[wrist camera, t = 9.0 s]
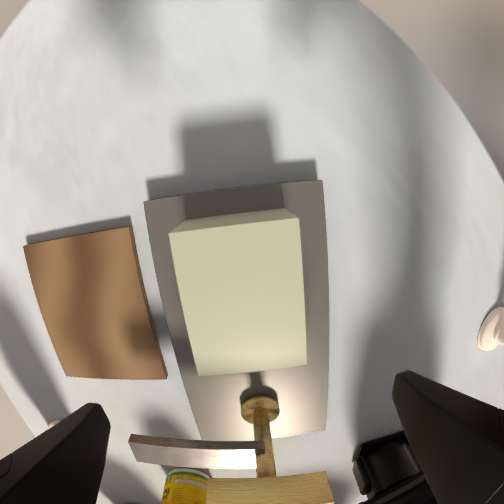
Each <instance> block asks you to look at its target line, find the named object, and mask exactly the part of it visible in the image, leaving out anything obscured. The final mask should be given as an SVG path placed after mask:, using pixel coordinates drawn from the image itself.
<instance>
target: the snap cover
mask: <svg viewBox="0 0 504 504" xmlns="http://www.w3.org/2000/svg"><path fill="white" fill-rule="evenodd" d="M169 239H170V245H171V251H172V257H173V262H174V268H175V273H176V279H177V284H178V289H179V294H180V299H181V304H182V308H183V313H184V318H185V322H186V327H187V331H188V336H189V340H190V344H191V348H192V352H193V357H194V361H195V365H196V369H197V372H198V376H211V375H224V374H236V373H246V372H256V371H264V370H272V369H280V368H287V367H294V366H301V365H307V351H306V323H305V301H304V283H303V266H302V252H301V238H300V225H299V218H298V217H297V216H295V215H294V214H292V213H291V212H289V211H288V210H286V209H285V208H281V209H272V210H263V211H254V212H245V213H237V214H228V215H220V216H212V217H204V218H197V219H189V220H185V221H184V222H182V223H181V224H180V225H179V226H177V227H176V228H175V229H174V230H172V231H171V232H170V233H169Z"/></svg>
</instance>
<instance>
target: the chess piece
mask: <svg viewBox="0 0 504 504" xmlns="http://www.w3.org/2000/svg"><path fill="white" fill-rule="evenodd" d="M499 344H502V345H504V308H503V307H498V308H496V309H494V310H493V311H492V312H490V314H489V315H488V316H487V317H486V319H485V320H484V322H483V324H482V326H481V328H480V331H479V334H478V346H479V347H480V348H481V349H483V350H485V351H490V350H492V349H494V348H495V347H496V346H498V345H499Z"/></svg>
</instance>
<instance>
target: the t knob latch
mask: <svg viewBox="0 0 504 504" xmlns="http://www.w3.org/2000/svg"><path fill="white" fill-rule="evenodd" d="M279 413H280V409H279V403H278V401H277V400H276V399H275V398H274V397H272V396H270V395H266V394H257V395H252V396H250V397H248V398H246V399H245V400H244V401H243V403H242V404H241V416H242V418H243V419H244V420H245V421H246V422H248V423H251V424H253V427H254V441H203V440H184V439H171V438H160V437H151V436H143V435H136V434H131V435H130V438H129V441H128V442H129V445H130V447H131V449H132V451H133V454H134V456H135V458H136V460H137V461H138V462H144V463H151V464H159V465H168V466H178V467H191V468H210V469H254V468H256V472H257V478H208V484H207V498H206V504H334V499H333V495H332V492H331V488H330V485H329V481H328V477H327V474H326V471H323V472H316V473H309V474H301V475H292V476H281V477H276V470H275V462H274V454H273V446H272V439H271V431H270V422H272V421H274V420H275V419H276V418H277V417H278V416H279Z"/></svg>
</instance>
